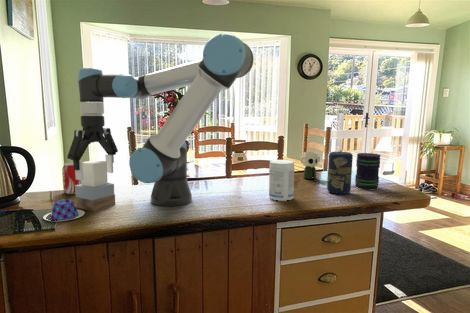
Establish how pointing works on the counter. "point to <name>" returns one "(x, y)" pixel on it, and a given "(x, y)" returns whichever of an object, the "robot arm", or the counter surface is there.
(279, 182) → the supplement tub
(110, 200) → the walnut base block
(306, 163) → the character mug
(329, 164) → the canister
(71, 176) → the soda can
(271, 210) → the counter surface
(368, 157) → the storage jar
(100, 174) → the cream pillar block
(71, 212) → the pudding
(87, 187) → the slate top block
